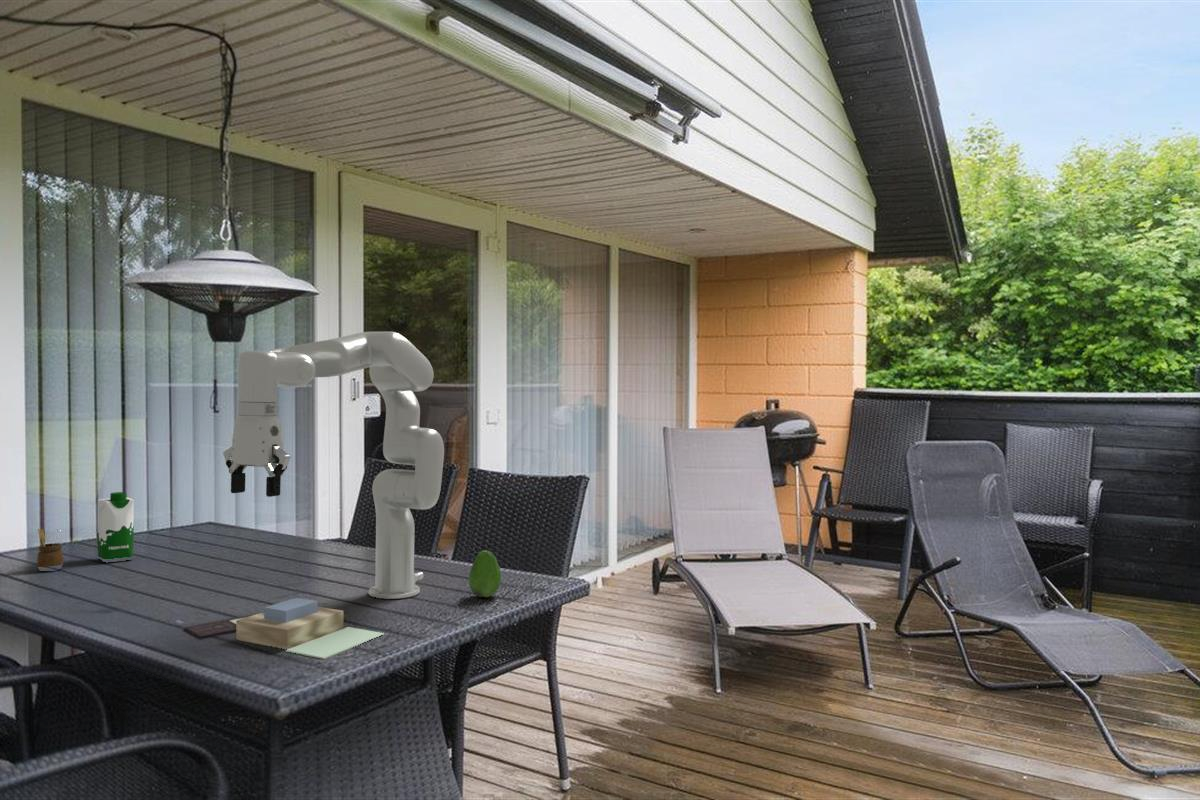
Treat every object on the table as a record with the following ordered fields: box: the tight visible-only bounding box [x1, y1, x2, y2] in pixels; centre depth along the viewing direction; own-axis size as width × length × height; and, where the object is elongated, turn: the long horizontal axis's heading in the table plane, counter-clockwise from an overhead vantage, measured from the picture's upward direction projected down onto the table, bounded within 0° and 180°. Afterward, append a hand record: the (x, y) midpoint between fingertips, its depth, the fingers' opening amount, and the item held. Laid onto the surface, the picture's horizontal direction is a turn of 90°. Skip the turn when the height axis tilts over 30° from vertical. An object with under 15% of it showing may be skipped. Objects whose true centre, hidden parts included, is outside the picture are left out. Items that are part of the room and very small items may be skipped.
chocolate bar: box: [183, 613, 259, 640], centre depth 182 cm, size 9×1×18 cm
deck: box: [235, 606, 344, 650], centre depth 176 cm, size 16×14×4 cm
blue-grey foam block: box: [263, 597, 319, 623], centre depth 176 cm, size 9×6×2 cm, turn 156°
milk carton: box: [96, 491, 135, 559], centre depth 244 cm, size 9×9×20 cm
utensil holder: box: [37, 528, 64, 567], centre depth 230 cm, size 6×6×12 cm
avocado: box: [468, 549, 502, 598], centre depth 210 cm, size 8×8×12 cm
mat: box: [285, 626, 386, 660], centre depth 171 cm, size 18×10×1 cm, turn 156°
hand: (255, 494), depth 171 cm, fingers open, 9 cm apart
